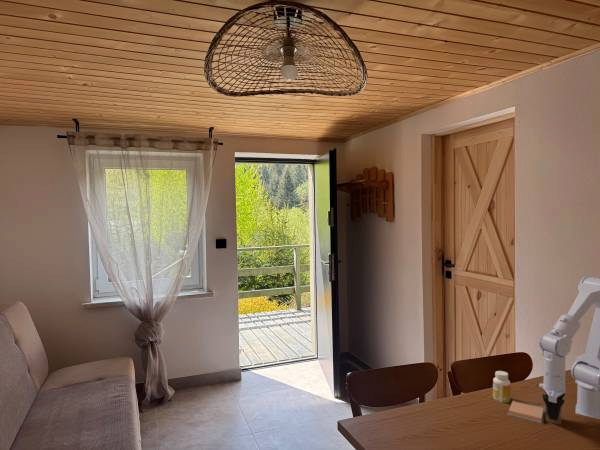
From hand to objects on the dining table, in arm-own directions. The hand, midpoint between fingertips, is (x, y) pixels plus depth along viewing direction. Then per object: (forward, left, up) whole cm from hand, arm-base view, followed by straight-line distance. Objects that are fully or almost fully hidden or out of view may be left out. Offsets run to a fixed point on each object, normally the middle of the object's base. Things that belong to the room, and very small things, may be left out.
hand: (553, 416), depth 127 cm
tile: (+7, -4, -1) cm, 9 cm away
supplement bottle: (+16, -7, -2) cm, 17 cm away
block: (0, 0, -2) cm, 2 cm away
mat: (+7, -2, -2) cm, 8 cm away
